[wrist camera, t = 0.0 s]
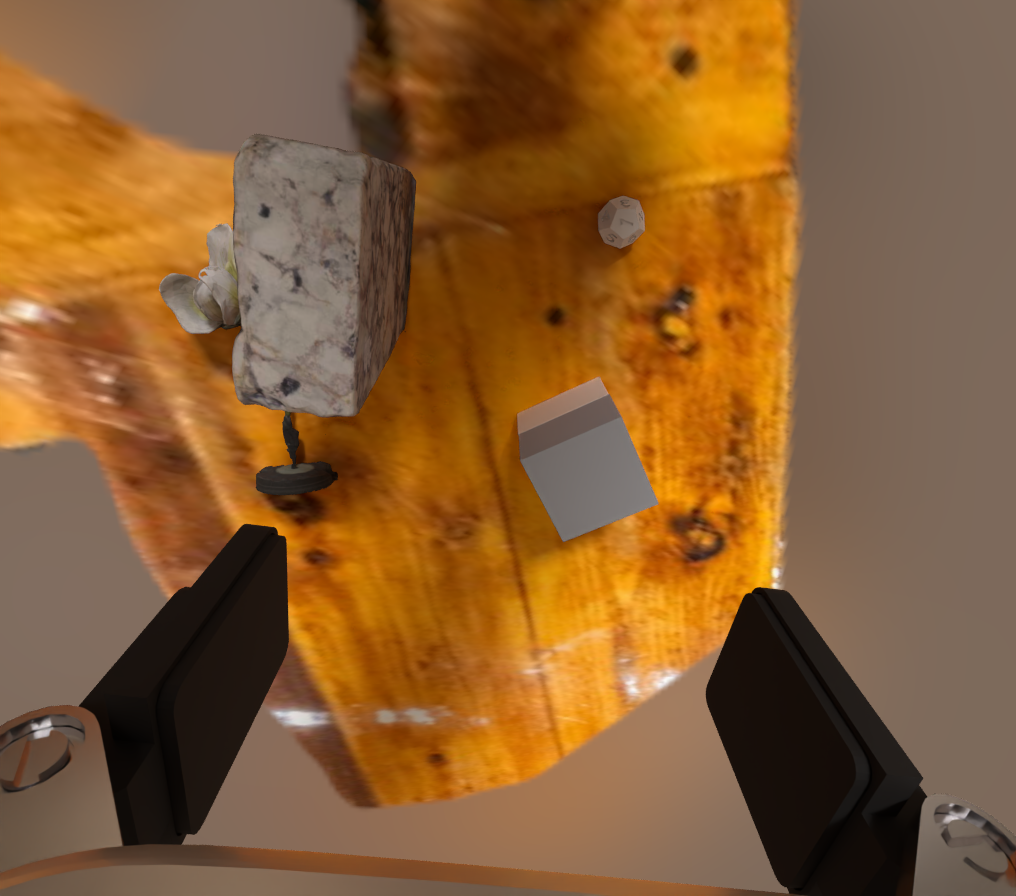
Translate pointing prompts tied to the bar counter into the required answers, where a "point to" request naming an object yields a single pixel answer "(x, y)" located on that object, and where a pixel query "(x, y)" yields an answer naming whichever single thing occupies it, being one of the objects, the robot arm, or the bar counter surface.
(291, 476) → the artificial flower
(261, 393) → the stone block
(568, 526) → the upper block
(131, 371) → the bar counter surface
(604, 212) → the game die
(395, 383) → the bar counter surface
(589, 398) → the lower block
